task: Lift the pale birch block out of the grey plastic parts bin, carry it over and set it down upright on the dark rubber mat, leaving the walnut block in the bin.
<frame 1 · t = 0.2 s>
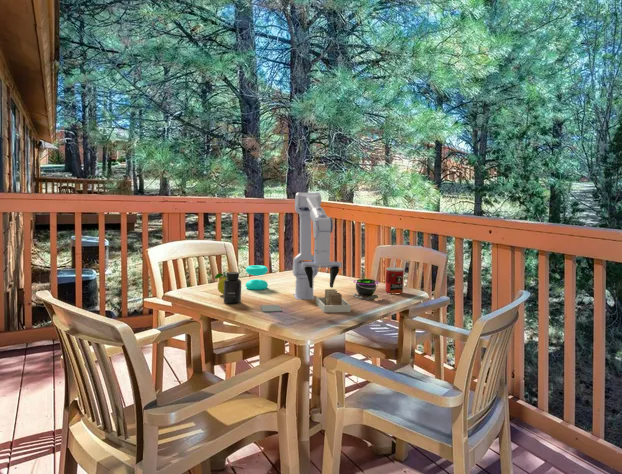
hand: (321, 287, 184), 10 cm above the table, tool pointing down, fingers open, 7 cm apart
supplement bottle: (232, 303, 199), on the table
walnut block: (334, 309, 190), resting on parts bin
canned food: (393, 293, 225), on the table
birch block: (330, 305, 196), resting on parts bin
parts bin: (332, 308, 193), on the table
donuts: (256, 288, 228), on the table
pear: (223, 295, 212), on the table
toy cauldron: (365, 298, 213), on the table
rubber mat: (273, 308, 190), on the table
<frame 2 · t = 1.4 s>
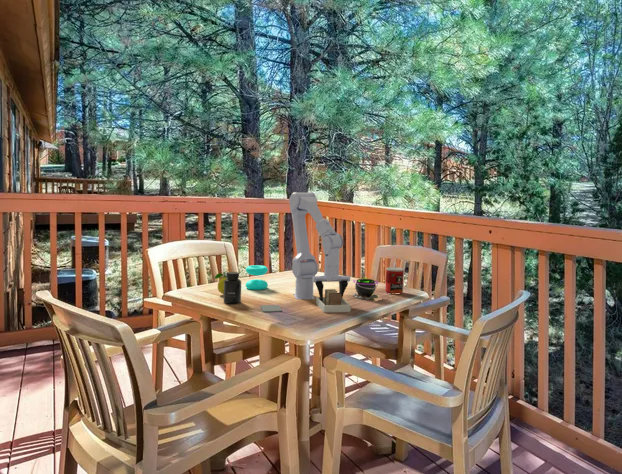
hand: (330, 300, 196), 3 cm above the table, tool pointing down, fingers open, 7 cm apart
nothing on the table moved.
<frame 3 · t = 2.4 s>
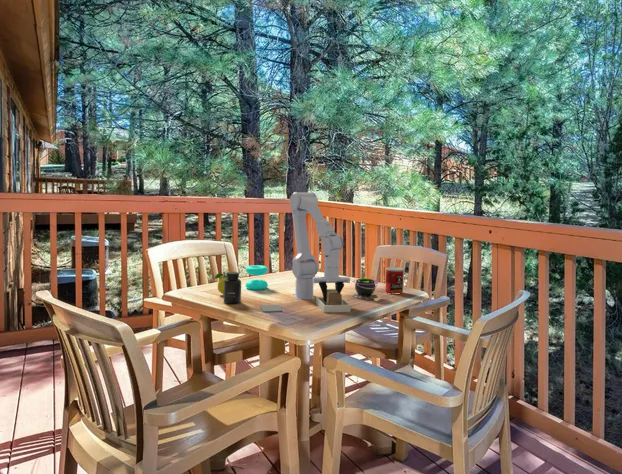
hand: (330, 301, 196), 2 cm above the table, tool pointing down, fingers closed on birch block, 4 cm apart
birch block: (330, 305, 196), resting on parts bin, touching gripper
everything else where it was.
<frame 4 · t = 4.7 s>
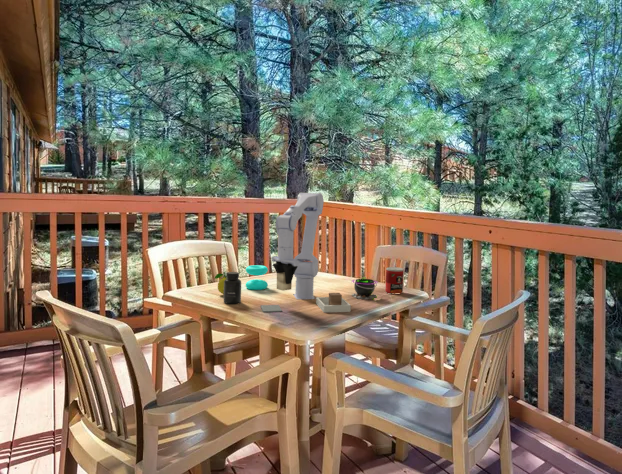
hand: (284, 282, 190), 10 cm above the table, tool pointing down, fingers closed on birch block, 4 cm apart
birch block: (284, 289, 190), point 8 cm above the table, touching gripper
everything else where it was.
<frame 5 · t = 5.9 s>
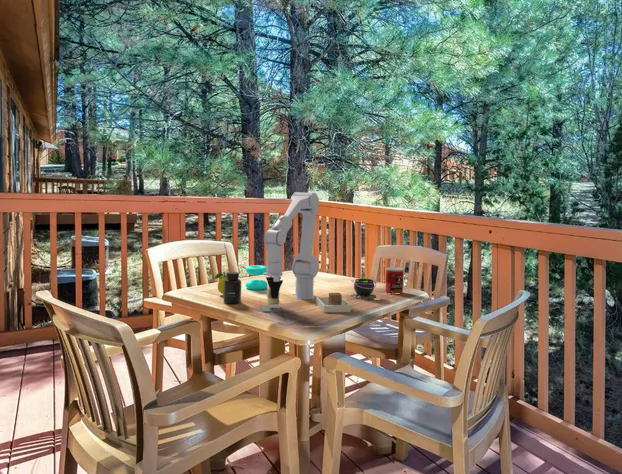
hand: (273, 297, 190), 5 cm above the table, tool pointing down, fingers closed on birch block, 4 cm apart
birch block: (273, 303, 190), point 2 cm above the table, touching gripper
everything else where it was.
when the fingers open (4 cm above the table, at t = 6.9 s): birch block stays where it is, resting on rubber mat.
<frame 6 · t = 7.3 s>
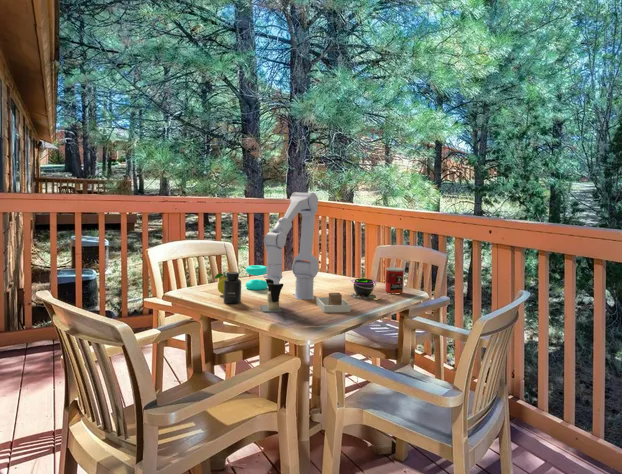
hand: (273, 299, 190), 4 cm above the table, tool pointing down, fingers open, 7 cm apart
birch block: (273, 307, 190), resting on rubber mat
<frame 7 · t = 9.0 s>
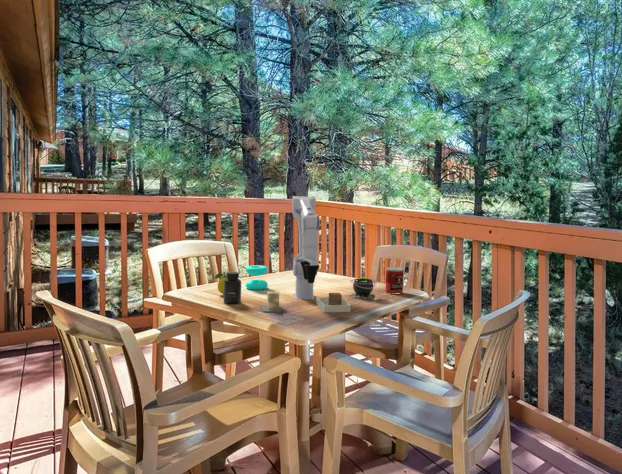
hand: (309, 281, 195), 10 cm above the table, tool pointing down, fingers open, 7 cm apart
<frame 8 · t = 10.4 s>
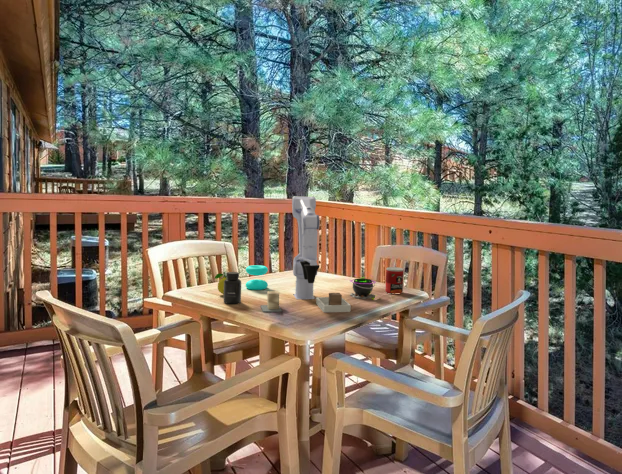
hand: (309, 281, 195), 10 cm above the table, tool pointing down, fingers open, 7 cm apart
at the end: birch block inside the target area on the rubber mat (0.2 cm from its centre), point 0.4 cm above the rubber mat's base; birch block tilted 0°; walnut block moved 0.1 cm from its start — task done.
